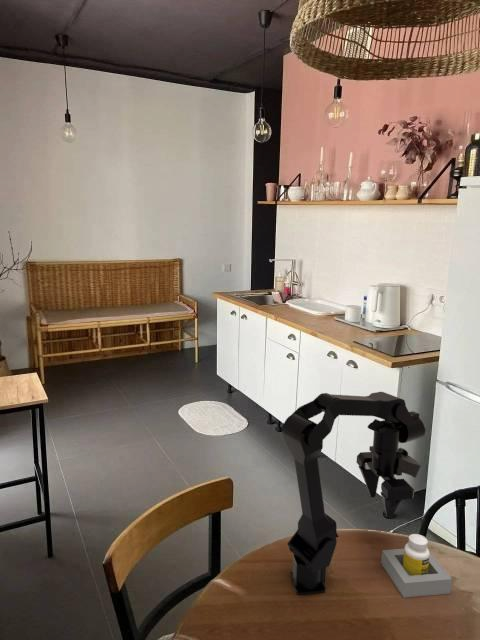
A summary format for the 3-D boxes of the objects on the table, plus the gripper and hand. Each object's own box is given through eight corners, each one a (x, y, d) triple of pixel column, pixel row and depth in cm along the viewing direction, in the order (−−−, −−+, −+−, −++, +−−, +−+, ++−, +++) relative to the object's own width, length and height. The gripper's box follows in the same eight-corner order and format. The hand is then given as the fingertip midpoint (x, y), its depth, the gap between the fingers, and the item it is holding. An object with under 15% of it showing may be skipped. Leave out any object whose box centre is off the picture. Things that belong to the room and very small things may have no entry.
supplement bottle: (422, 590, 103) (426, 549, 102) (398, 579, 107) (401, 539, 105) (429, 577, 108) (433, 538, 106) (406, 566, 111) (409, 528, 109)
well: (403, 597, 101) (404, 583, 100) (381, 563, 112) (382, 550, 111) (450, 593, 103) (452, 579, 102) (424, 560, 113) (425, 547, 113)
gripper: (439, 462, 103) (432, 527, 105) (398, 429, 121) (394, 485, 124) (391, 464, 101) (386, 531, 104) (357, 431, 119) (353, 488, 122)
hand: (380, 507), depth 113 cm, fingers open, 9 cm apart
